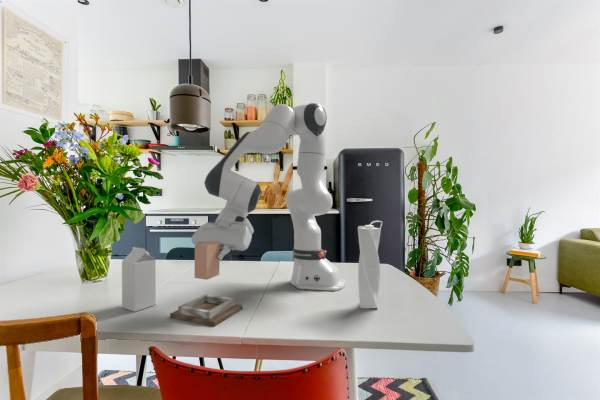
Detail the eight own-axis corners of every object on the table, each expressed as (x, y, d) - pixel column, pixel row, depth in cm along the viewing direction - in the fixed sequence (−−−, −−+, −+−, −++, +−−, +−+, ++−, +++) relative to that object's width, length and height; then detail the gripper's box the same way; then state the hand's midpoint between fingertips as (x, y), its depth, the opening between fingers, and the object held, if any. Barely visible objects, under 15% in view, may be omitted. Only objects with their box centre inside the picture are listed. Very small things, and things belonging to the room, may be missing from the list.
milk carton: (134, 312, 94) (134, 250, 93) (121, 307, 97) (121, 248, 97) (155, 305, 100) (155, 247, 99) (143, 301, 103) (143, 245, 103)
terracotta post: (219, 274, 95) (219, 242, 95) (206, 279, 89) (207, 245, 89) (207, 273, 97) (207, 241, 96) (194, 277, 91) (194, 244, 91)
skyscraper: (380, 302, 103) (381, 219, 102) (383, 310, 95) (383, 221, 95) (357, 301, 104) (357, 219, 104) (357, 309, 97) (357, 221, 96)
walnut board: (242, 308, 97) (242, 298, 97) (214, 326, 84) (214, 314, 84) (201, 302, 103) (201, 292, 103) (170, 317, 90) (170, 306, 90)
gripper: (199, 216, 105) (178, 249, 96) (251, 218, 97) (234, 254, 88) (208, 228, 109) (188, 260, 100) (258, 231, 102) (242, 266, 93)
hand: (210, 257), depth 94 cm, fingers closed on terracotta post, 4 cm apart
